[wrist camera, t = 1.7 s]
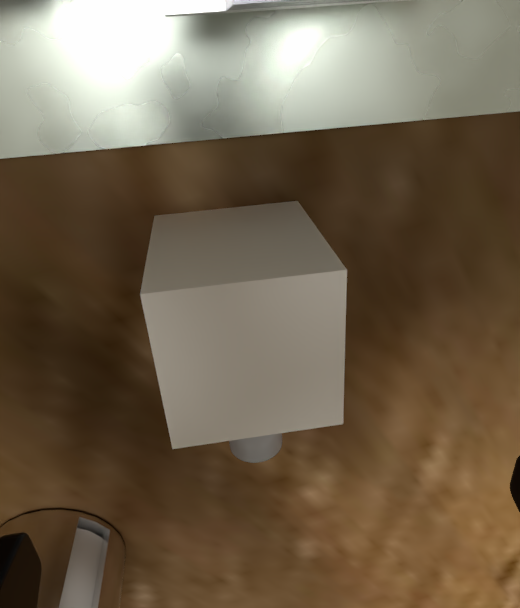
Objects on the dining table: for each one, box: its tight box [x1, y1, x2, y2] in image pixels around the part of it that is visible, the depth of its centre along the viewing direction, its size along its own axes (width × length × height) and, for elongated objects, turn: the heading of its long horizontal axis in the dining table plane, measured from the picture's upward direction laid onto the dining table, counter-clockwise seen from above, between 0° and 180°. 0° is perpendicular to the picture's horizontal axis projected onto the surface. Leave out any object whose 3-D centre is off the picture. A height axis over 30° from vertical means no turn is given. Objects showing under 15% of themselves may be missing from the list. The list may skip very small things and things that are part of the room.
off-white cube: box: [140, 201, 347, 463], centre depth 16 cm, size 5×7×6 cm
